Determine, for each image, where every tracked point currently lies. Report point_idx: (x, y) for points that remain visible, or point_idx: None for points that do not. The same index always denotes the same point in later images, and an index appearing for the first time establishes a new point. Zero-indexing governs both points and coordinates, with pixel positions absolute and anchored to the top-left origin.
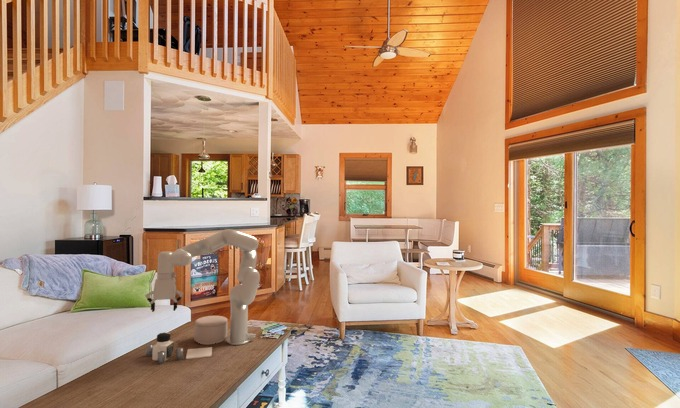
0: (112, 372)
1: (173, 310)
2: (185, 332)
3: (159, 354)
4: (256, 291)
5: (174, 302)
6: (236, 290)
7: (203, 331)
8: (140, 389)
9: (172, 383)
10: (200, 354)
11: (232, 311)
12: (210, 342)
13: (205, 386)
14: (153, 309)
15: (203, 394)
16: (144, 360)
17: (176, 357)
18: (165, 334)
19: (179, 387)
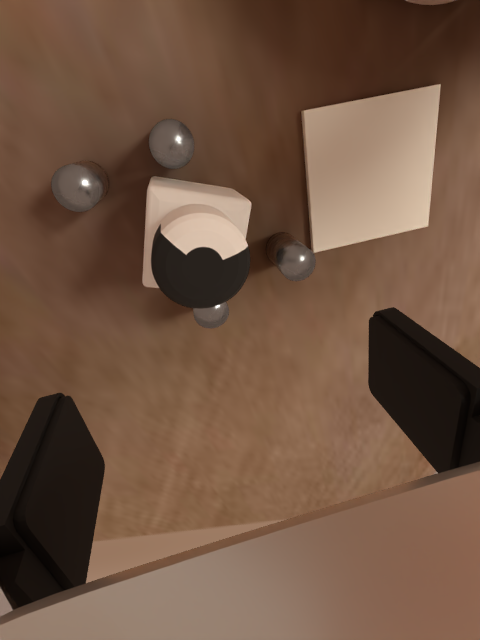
0: (32, 384)
1: (370, 388)
2: None
3: (207, 326)
4: None
5: (465, 465)
6: None
7: None
8: (220, 478)
9: (302, 443)
10: (377, 209)
11: None
12: (443, 3)
13: (394, 450)
14: (95, 494)
15: (389, 482)
16: (103, 257)
17: (271, 260)
18: (224, 288)
19: (327, 460)
